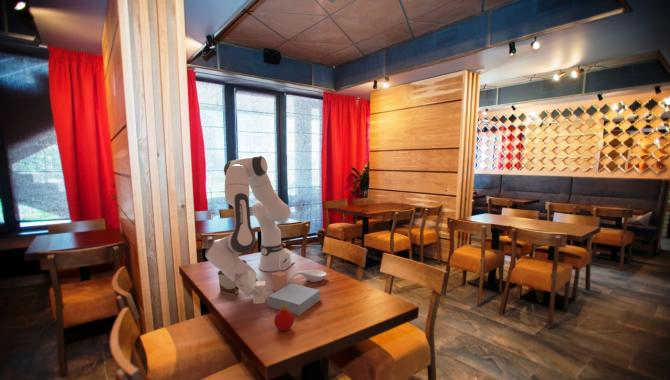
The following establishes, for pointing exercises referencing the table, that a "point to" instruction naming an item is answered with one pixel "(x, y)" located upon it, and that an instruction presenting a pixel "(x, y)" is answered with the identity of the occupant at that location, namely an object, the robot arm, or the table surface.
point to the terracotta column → (279, 280)
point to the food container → (227, 284)
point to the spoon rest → (308, 275)
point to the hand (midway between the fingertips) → (260, 291)
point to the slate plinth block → (294, 298)
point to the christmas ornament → (283, 319)
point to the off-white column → (260, 291)
